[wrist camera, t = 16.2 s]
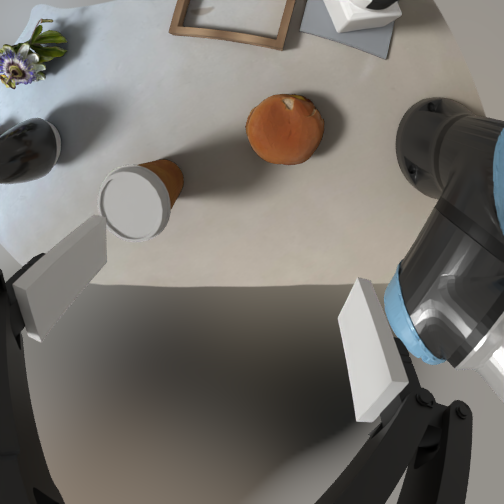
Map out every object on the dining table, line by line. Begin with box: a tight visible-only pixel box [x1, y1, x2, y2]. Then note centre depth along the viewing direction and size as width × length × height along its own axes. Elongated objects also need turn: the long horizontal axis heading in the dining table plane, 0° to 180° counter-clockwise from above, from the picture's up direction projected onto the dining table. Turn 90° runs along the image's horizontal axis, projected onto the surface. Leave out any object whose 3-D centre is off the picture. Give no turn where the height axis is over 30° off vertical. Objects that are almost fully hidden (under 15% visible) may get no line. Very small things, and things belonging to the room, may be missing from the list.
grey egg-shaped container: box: [0, 118, 61, 184], centre depth 34 cm, size 10×10×15 cm
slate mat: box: [300, 0, 398, 59], centre depth 28 cm, size 12×12×1 cm
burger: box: [245, 94, 324, 165], centre depth 36 cm, size 10×9×5 cm
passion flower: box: [0, 19, 68, 89], centre depth 29 cm, size 11×11×12 cm
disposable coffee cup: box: [97, 159, 184, 242], centre depth 37 cm, size 10×10×12 cm
